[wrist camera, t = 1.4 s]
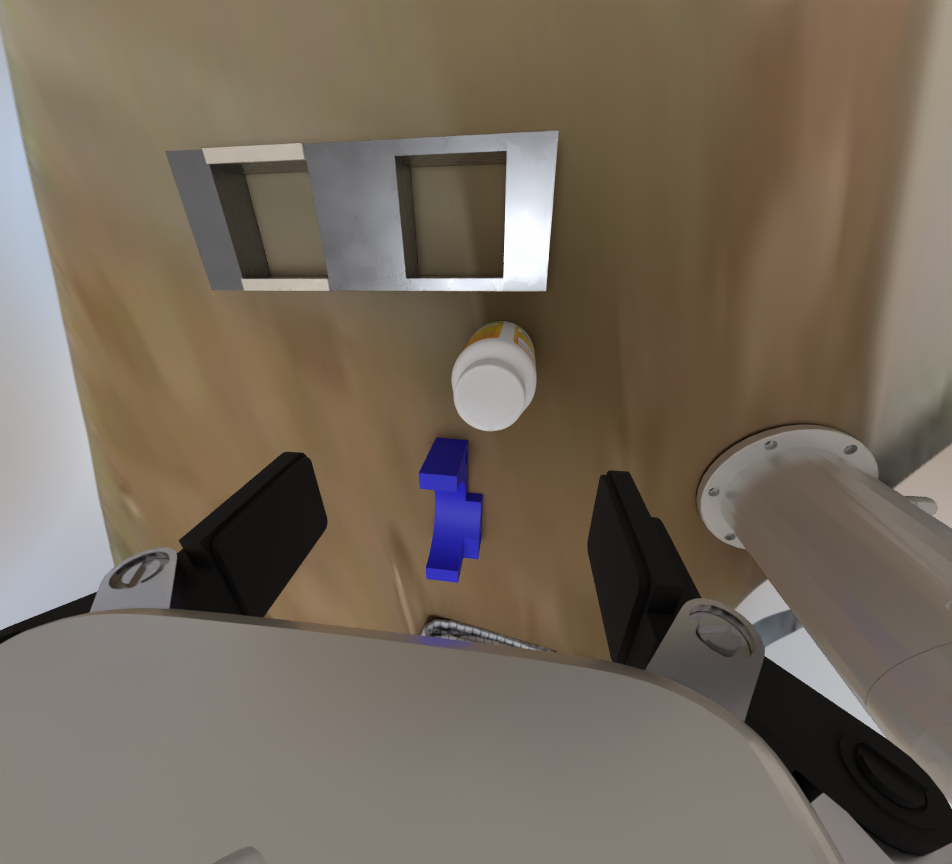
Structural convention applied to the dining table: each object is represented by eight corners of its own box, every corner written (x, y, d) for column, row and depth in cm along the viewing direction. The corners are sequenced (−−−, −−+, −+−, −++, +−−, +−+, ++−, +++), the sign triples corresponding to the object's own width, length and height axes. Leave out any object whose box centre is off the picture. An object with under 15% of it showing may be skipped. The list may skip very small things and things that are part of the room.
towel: (427, 608, 44) (408, 674, 37) (562, 650, 44) (568, 723, 37) (406, 667, 51) (387, 732, 44) (522, 703, 52) (521, 773, 45)
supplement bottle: (460, 375, 29) (431, 427, 20) (477, 310, 26) (452, 338, 18) (521, 394, 29) (519, 454, 20) (544, 331, 26) (553, 369, 18)
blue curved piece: (481, 537, 37) (473, 584, 32) (440, 533, 37) (426, 578, 32) (484, 440, 31) (476, 478, 26) (436, 436, 32) (418, 473, 27)
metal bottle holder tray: (554, 146, 21) (558, 129, 18) (543, 287, 25) (546, 291, 22) (205, 162, 24) (162, 150, 21) (242, 286, 28) (209, 290, 25)
